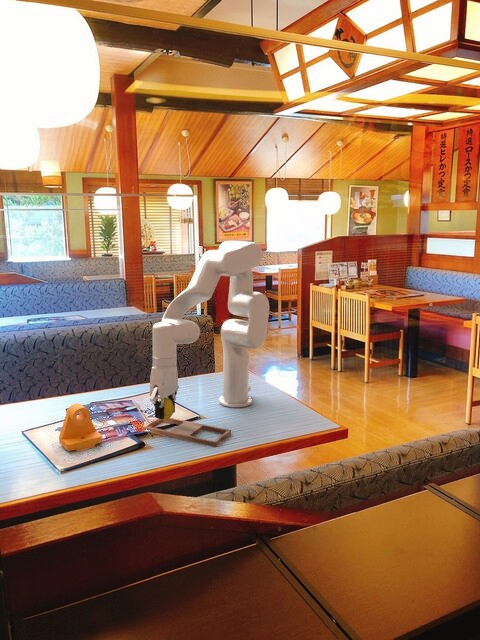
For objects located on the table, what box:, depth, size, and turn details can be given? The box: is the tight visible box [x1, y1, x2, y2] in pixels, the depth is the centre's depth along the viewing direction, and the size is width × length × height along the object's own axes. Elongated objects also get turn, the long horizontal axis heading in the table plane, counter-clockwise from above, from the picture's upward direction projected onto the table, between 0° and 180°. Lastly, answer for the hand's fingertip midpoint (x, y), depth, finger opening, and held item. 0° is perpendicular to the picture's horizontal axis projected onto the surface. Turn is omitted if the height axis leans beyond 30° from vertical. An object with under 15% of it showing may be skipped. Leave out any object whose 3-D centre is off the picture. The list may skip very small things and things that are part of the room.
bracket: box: [58, 403, 103, 452], centre depth 153 cm, size 11×7×12 cm, turn 129°
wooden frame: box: [141, 417, 232, 448], centre depth 163 cm, size 11×27×2 cm, turn 65°
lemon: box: [158, 397, 174, 421], centre depth 166 cm, size 6×6×8 cm
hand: (165, 414), depth 166 cm, fingers closed on lemon, 5 cm apart
